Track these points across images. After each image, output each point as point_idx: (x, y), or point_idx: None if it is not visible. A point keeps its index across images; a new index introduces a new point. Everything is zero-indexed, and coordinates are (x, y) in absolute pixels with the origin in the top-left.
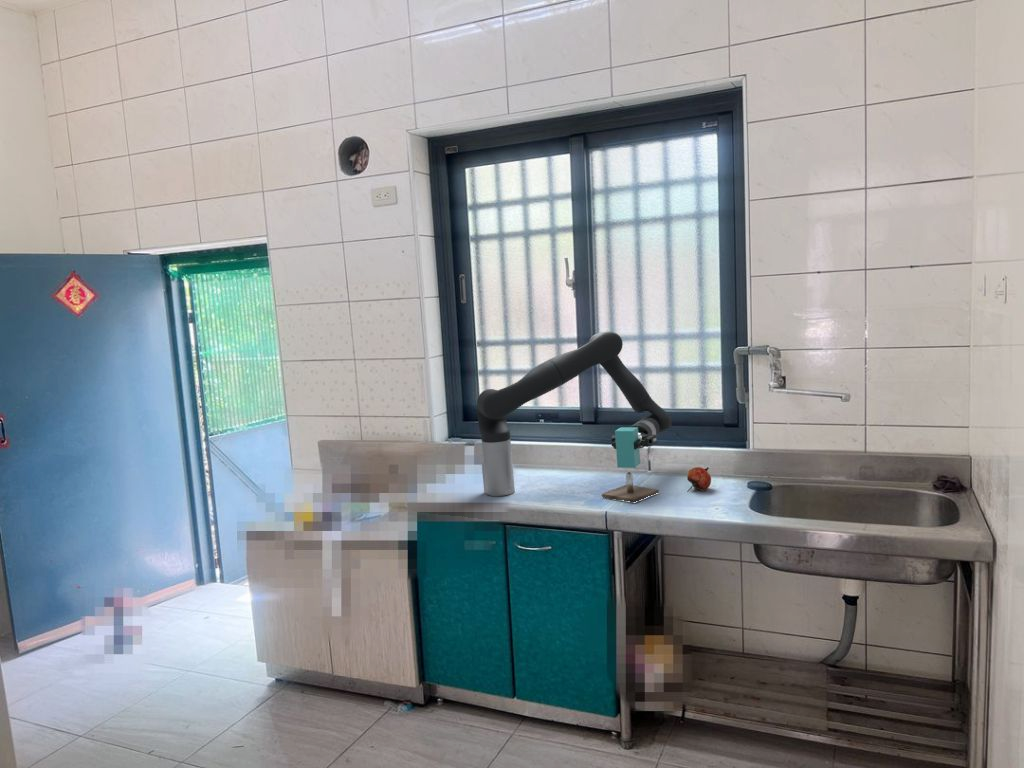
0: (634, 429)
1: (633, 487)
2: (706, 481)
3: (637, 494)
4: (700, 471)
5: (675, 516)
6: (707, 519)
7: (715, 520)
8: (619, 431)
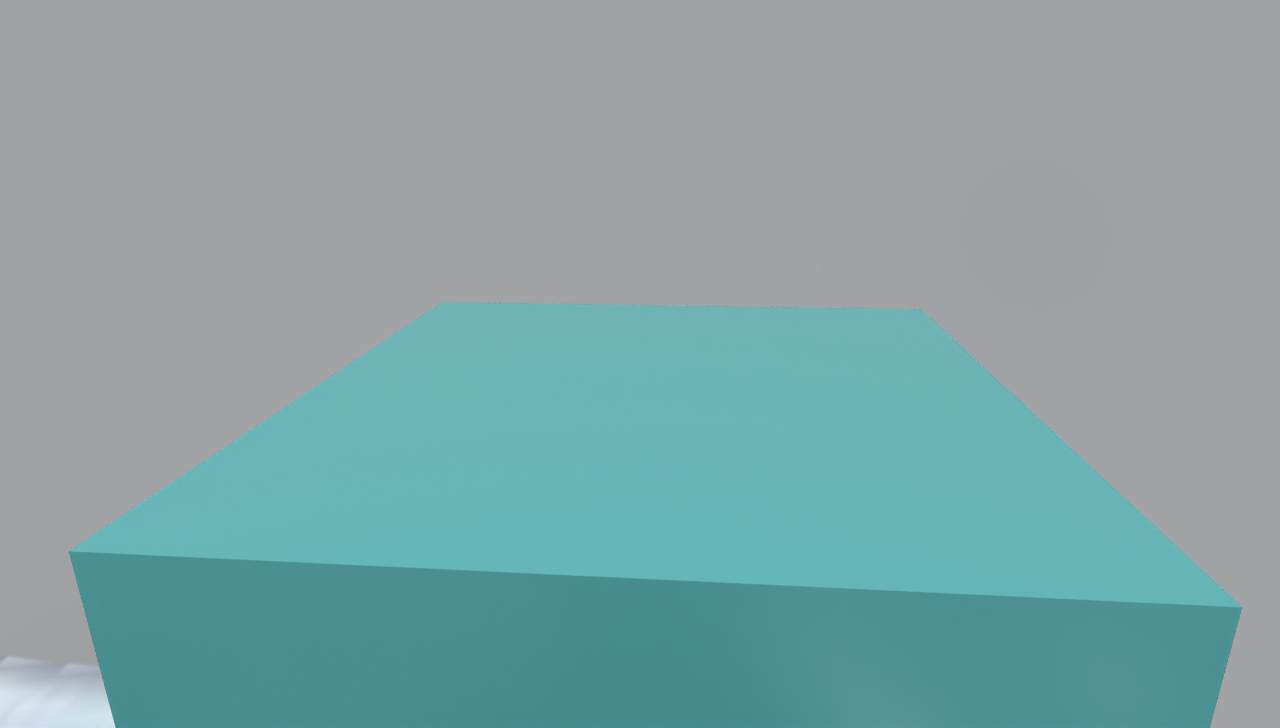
0: (366, 363)
1: None
2: None
3: None
4: None
5: None
6: (60, 687)
7: (22, 677)
8: (790, 319)
